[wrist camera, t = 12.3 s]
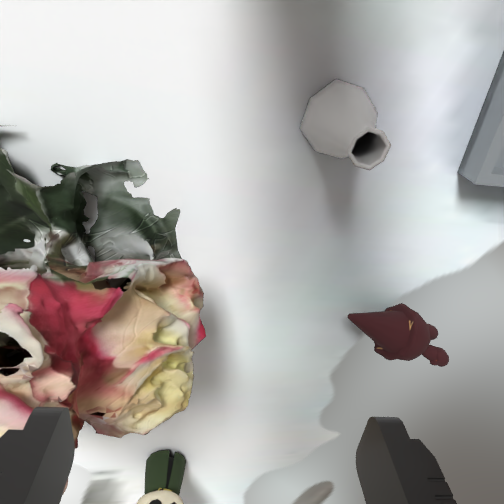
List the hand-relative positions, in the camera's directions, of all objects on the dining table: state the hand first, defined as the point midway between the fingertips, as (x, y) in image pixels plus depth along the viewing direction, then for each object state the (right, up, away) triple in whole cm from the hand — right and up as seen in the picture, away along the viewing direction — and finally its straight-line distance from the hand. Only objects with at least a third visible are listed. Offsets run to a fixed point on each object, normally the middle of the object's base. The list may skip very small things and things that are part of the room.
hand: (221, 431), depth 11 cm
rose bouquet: (-17, +5, +35) cm, 39 cm away
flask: (+9, +18, +29) cm, 35 cm away
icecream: (+19, -3, +42) cm, 46 cm away
